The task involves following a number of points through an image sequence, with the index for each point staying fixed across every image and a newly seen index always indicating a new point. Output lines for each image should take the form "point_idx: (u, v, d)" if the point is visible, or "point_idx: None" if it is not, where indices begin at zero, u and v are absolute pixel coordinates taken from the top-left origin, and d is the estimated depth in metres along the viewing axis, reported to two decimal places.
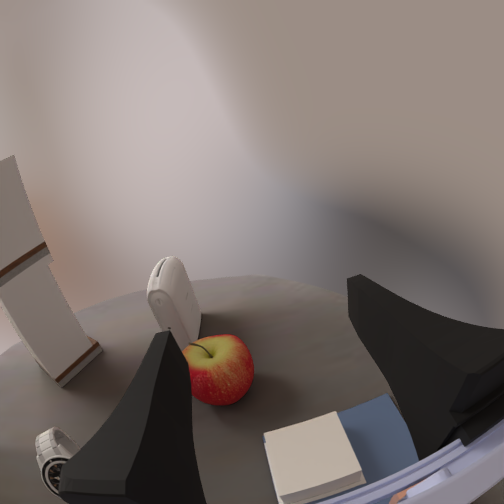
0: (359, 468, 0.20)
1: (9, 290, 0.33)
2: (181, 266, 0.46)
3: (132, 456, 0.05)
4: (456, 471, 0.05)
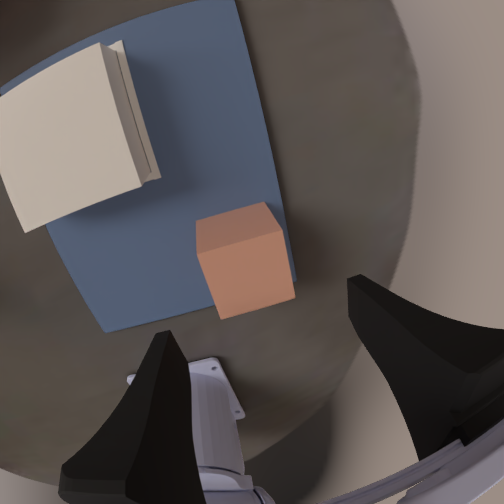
0: (137, 183, 0.13)
1: None
2: None
3: (132, 456, 0.05)
4: (456, 471, 0.05)
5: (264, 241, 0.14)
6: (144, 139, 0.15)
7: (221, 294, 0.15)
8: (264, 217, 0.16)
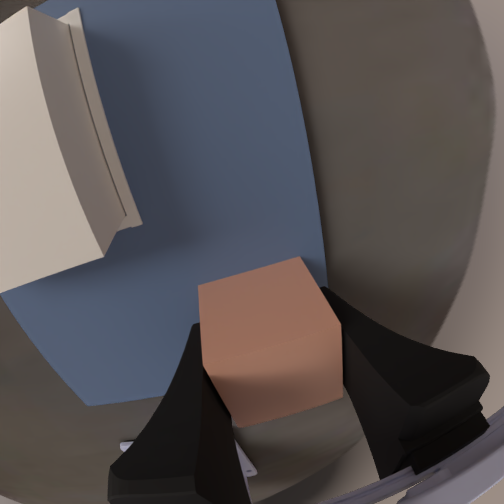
0: (96, 251, 0.07)
1: None
2: None
3: (194, 449, 0.06)
4: (456, 471, 0.05)
5: (311, 341, 0.08)
6: (113, 164, 0.09)
7: (241, 405, 0.09)
8: (306, 292, 0.10)
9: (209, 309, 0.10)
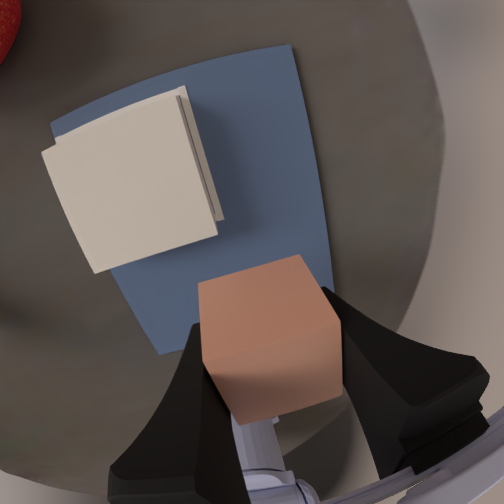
0: (214, 231, 0.15)
1: None
2: None
3: (193, 449, 0.06)
4: (456, 471, 0.05)
5: (311, 338, 0.09)
6: (209, 184, 0.17)
7: (241, 403, 0.09)
8: (305, 289, 0.10)
9: (209, 306, 0.10)
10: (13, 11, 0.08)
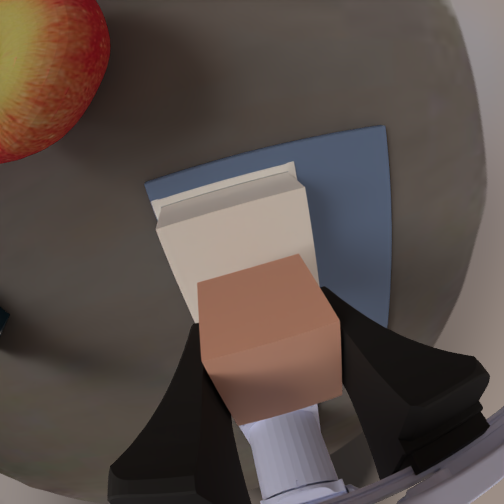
0: None
1: None
2: None
3: (194, 449, 0.06)
4: (456, 471, 0.05)
5: (310, 338, 0.08)
6: None
7: (240, 403, 0.09)
8: (305, 288, 0.10)
9: (208, 306, 0.10)
10: (108, 53, 0.10)
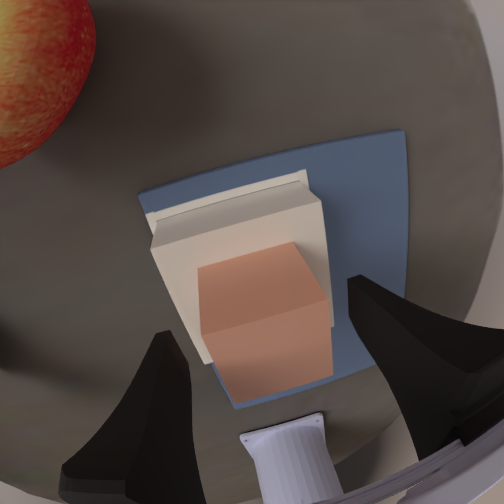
0: (331, 324, 0.15)
1: None
2: None
3: (132, 456, 0.05)
4: (456, 471, 0.05)
5: (301, 315, 0.09)
6: None
7: (236, 379, 0.10)
8: (297, 271, 0.11)
9: (207, 288, 0.11)
10: (92, 45, 0.08)
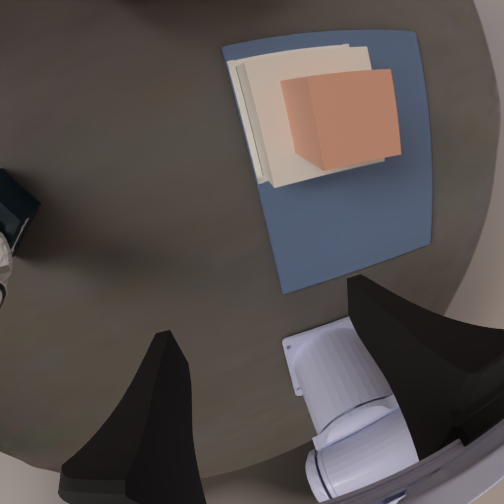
0: (382, 158, 0.17)
1: None
2: None
3: (132, 456, 0.05)
4: (456, 471, 0.05)
5: (374, 76, 0.11)
6: None
7: (329, 134, 0.12)
8: None
9: None
10: None
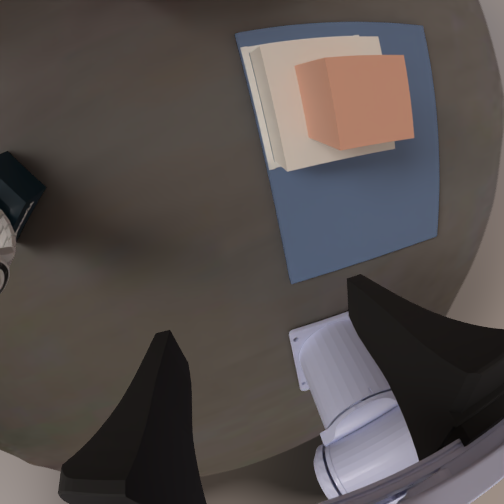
0: (393, 145, 0.17)
1: None
2: None
3: (132, 456, 0.05)
4: (456, 471, 0.05)
5: (389, 61, 0.10)
6: None
7: (345, 114, 0.11)
8: None
9: None
10: None
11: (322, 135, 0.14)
